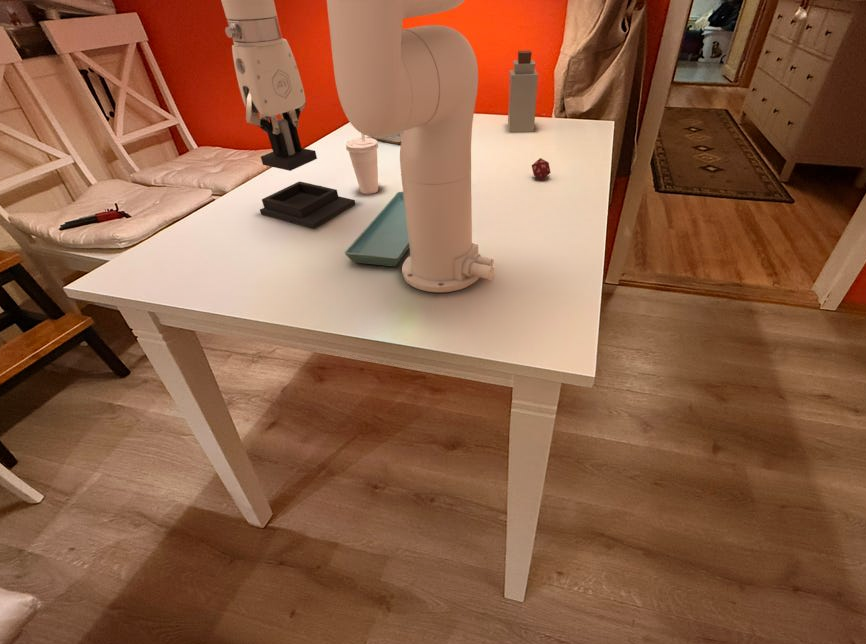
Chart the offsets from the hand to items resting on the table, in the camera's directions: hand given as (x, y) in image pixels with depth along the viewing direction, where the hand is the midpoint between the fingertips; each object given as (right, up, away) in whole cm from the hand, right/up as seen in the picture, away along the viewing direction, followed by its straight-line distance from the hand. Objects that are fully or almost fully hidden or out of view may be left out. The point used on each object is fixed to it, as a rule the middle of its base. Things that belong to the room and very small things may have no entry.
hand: (288, 152), depth 85 cm
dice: (+49, +1, +16) cm, 52 cm away
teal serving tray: (+21, -16, -2) cm, 26 cm away
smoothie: (+12, -3, +13) cm, 18 cm away
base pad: (+2, -9, +6) cm, 11 cm away
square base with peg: (0, -1, +1) cm, 2 cm away
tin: (+13, +20, +38) cm, 44 cm away
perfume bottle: (+48, +26, +43) cm, 70 cm away
